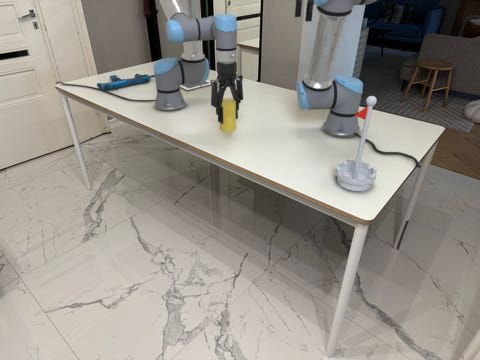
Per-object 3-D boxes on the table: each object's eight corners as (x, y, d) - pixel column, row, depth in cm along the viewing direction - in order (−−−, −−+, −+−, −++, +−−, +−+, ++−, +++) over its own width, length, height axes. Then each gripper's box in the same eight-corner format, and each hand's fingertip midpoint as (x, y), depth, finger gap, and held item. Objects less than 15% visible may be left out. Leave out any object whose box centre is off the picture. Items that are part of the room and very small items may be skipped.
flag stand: (357, 168, 122) (375, 86, 106) (382, 188, 112) (406, 100, 96) (326, 176, 118) (340, 91, 102) (349, 196, 108) (368, 106, 92)
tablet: (159, 78, 216) (159, 77, 215) (186, 72, 227) (186, 71, 226) (187, 90, 195) (187, 90, 195) (215, 83, 206) (215, 82, 206)
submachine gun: (141, 68, 225) (159, 74, 208) (142, 74, 227) (160, 80, 210) (89, 78, 206) (104, 86, 190) (91, 84, 208) (106, 92, 192)
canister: (239, 129, 138) (239, 102, 131) (225, 133, 135) (224, 105, 128) (230, 124, 142) (230, 97, 136) (217, 127, 139) (216, 100, 133)
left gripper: (210, 68, 116) (213, 129, 129) (253, 59, 126) (252, 117, 139) (198, 63, 121) (202, 123, 134) (241, 55, 131) (241, 111, 144)
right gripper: (289, -37, 153) (286, 15, 164) (310, -36, 132) (304, 23, 144) (305, -37, 154) (301, 15, 166) (328, -36, 134) (321, 22, 145)
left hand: (227, 120), depth 136 cm, fingers closed on canister, 6 cm apart
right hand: (302, 19), depth 155 cm, fingers open, 13 cm apart
